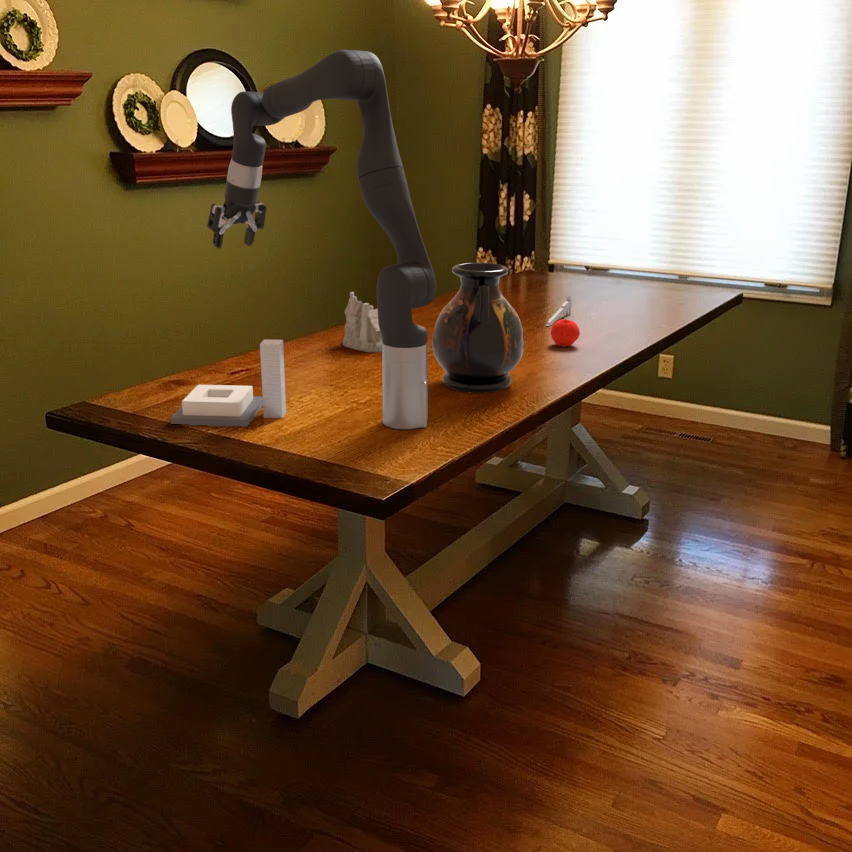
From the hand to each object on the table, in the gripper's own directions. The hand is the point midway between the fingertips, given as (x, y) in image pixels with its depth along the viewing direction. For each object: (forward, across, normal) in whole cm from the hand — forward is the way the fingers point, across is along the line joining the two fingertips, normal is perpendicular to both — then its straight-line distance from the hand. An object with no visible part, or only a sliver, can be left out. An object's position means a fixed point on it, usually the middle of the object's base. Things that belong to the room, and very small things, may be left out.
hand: (232, 245), depth 221 cm
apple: (+14, +79, -48) cm, 94 cm away
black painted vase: (+12, +34, -56) cm, 67 cm away
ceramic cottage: (+28, +43, -12) cm, 53 cm away
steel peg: (+18, -14, -42) cm, 48 cm away
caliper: (+20, +104, -29) cm, 110 cm away
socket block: (+22, -22, -33) cm, 45 cm away
